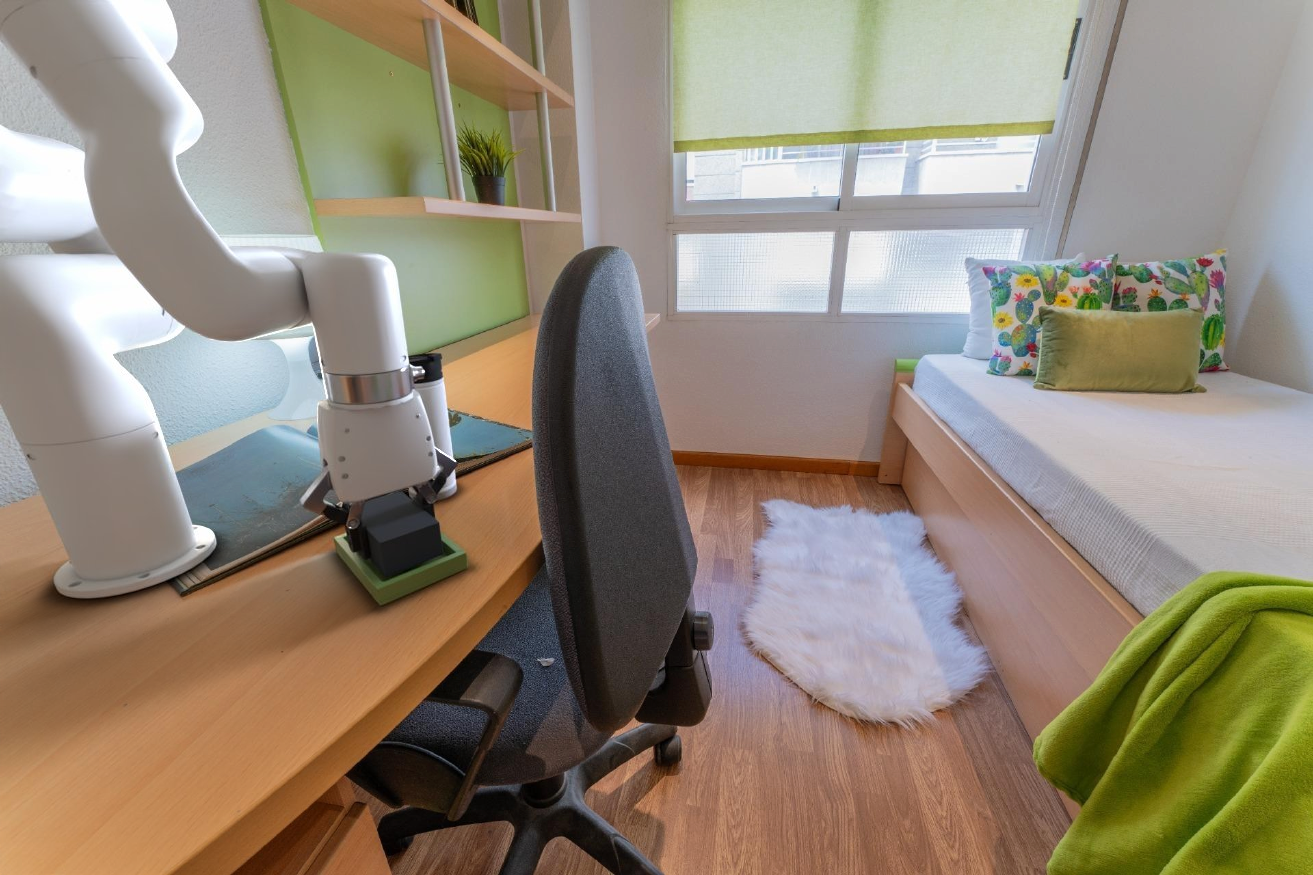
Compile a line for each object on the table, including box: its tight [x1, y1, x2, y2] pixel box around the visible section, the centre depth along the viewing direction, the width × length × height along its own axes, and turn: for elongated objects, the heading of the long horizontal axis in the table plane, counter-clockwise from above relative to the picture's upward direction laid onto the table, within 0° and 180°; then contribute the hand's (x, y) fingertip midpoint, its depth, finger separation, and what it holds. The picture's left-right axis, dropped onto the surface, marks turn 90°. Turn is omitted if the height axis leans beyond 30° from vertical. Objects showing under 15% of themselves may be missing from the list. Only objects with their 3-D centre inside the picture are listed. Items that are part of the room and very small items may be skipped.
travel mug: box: [408, 352, 458, 502], centre depth 70 cm, size 6×7×20 cm
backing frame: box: [332, 530, 469, 607], centre depth 58 cm, size 13×9×2 cm
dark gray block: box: [361, 490, 443, 577], centre depth 57 cm, size 10×6×4 cm, turn 46°
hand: (395, 541), depth 57 cm, fingers closed on dark gray block, 5 cm apart
